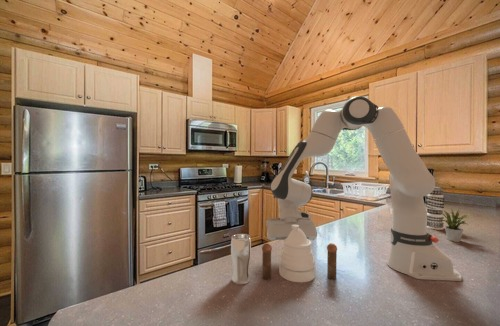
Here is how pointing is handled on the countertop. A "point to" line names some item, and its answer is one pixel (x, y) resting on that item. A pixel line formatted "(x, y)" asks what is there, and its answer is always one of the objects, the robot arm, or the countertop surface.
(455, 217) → the house plant
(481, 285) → the countertop surface
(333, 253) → the post
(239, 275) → the beer glass
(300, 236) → the honey pot
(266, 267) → the post
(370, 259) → the countertop surface
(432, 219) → the decorative candle
